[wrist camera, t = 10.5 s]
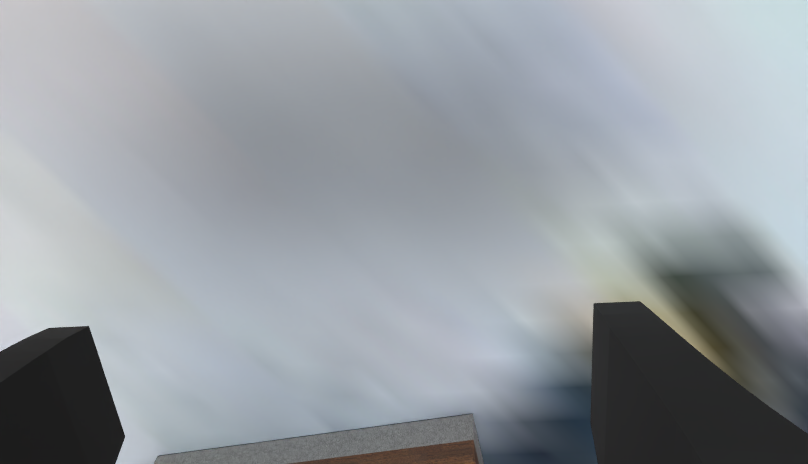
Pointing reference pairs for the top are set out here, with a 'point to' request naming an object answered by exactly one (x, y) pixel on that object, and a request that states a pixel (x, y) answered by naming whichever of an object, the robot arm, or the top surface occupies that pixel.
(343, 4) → the top surface
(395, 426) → the display case
